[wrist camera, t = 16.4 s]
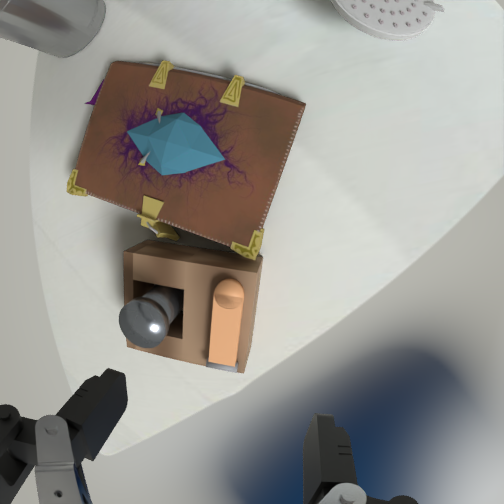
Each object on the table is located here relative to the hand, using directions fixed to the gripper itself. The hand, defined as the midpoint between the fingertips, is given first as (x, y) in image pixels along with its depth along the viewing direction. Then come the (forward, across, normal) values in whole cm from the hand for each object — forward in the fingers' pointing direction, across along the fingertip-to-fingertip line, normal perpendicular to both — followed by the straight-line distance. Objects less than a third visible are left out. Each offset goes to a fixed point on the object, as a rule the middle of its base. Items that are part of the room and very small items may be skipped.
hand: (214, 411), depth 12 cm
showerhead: (+20, -8, -27) cm, 34 cm away
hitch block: (+20, +5, +4) cm, 21 cm away
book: (+21, +11, -10) cm, 26 cm away
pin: (+20, +8, +4) cm, 22 cm away
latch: (+15, +2, +4) cm, 15 cm away
